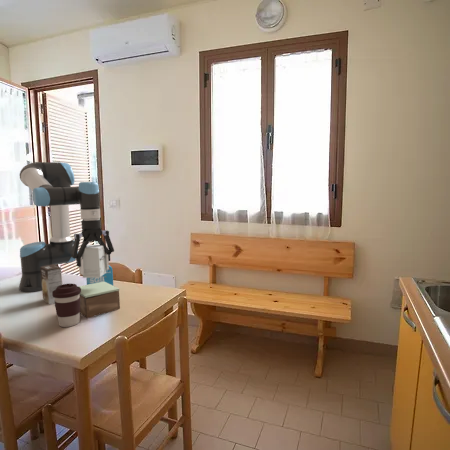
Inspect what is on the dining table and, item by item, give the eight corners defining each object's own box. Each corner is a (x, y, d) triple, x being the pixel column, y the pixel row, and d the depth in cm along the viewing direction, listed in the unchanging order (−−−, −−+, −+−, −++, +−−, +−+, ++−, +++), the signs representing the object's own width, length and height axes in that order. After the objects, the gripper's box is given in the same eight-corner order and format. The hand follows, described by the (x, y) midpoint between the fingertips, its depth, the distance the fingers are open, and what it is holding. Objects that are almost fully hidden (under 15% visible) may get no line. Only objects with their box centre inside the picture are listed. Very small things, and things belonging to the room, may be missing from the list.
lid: (71, 289, 140) (71, 287, 140) (104, 283, 150) (104, 281, 150) (85, 297, 129) (85, 295, 129) (119, 290, 139) (119, 288, 139)
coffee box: (42, 300, 152) (39, 266, 150) (56, 296, 157) (54, 263, 155) (49, 304, 146) (46, 269, 144) (64, 300, 151) (61, 267, 149)
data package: (88, 293, 161) (87, 269, 159) (87, 290, 165) (85, 267, 163) (113, 288, 167) (112, 265, 166) (111, 286, 171) (110, 264, 170)
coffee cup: (54, 331, 120) (50, 291, 118) (56, 320, 129) (52, 284, 127) (83, 326, 124) (80, 288, 122) (83, 316, 133) (80, 280, 131)
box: (74, 308, 141) (72, 291, 140) (105, 300, 151) (104, 283, 150) (87, 318, 131) (85, 299, 130) (120, 308, 141) (118, 290, 140)
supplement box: (100, 277, 135) (98, 247, 133) (82, 278, 135) (80, 248, 133) (106, 272, 142) (105, 244, 141) (90, 273, 142) (88, 244, 141)
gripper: (65, 222, 125) (70, 278, 128) (120, 217, 141) (123, 267, 144) (59, 221, 130) (63, 275, 133) (112, 216, 146) (115, 264, 149)
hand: (94, 271), depth 139 cm, fingers closed on supplement box, 10 cm apart
